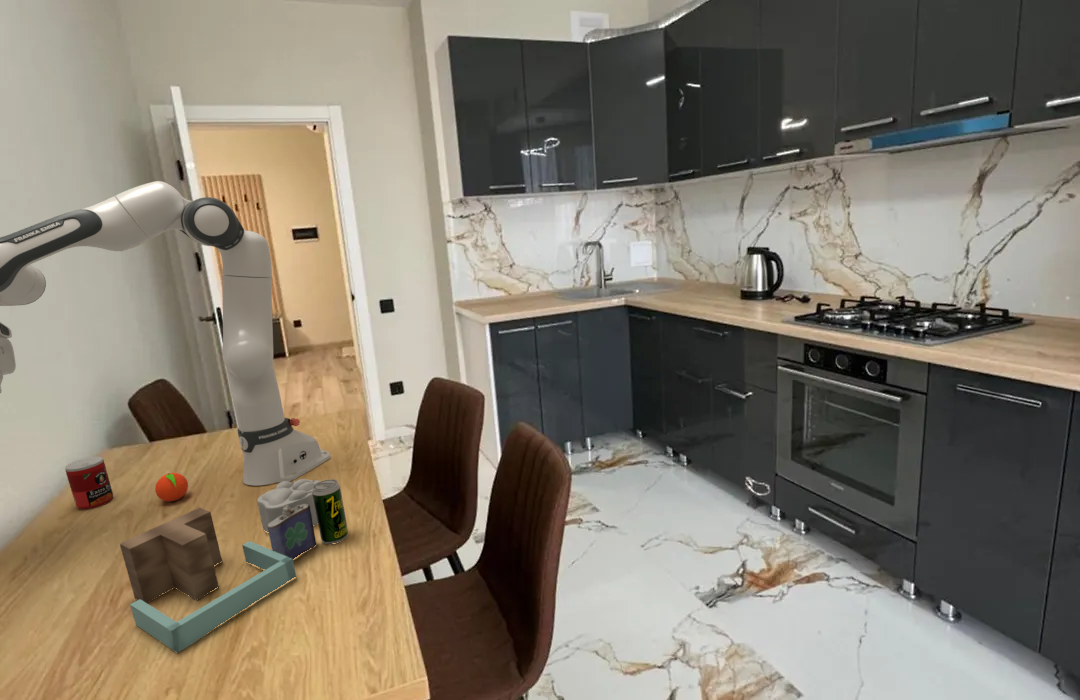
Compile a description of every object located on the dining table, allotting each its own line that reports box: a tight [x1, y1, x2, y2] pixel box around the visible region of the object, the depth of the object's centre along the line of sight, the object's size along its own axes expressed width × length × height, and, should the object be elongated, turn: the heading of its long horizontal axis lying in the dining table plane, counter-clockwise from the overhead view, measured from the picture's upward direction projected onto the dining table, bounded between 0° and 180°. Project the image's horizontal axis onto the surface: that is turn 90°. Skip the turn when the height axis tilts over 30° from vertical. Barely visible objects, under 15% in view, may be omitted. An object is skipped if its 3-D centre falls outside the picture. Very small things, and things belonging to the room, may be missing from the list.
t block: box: [119, 507, 223, 604], centre depth 106 cm, size 14×12×11 cm
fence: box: [129, 540, 297, 653], centre depth 102 cm, size 21×14×4 cm, turn 147°
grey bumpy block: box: [256, 478, 321, 533], centre depth 127 cm, size 10×13×9 cm
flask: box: [267, 504, 317, 559], centre depth 113 cm, size 9×3×11 cm, turn 151°
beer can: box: [312, 478, 349, 545], centre depth 118 cm, size 5×5×12 cm
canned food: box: [64, 456, 114, 510], centre depth 146 cm, size 8×8×11 cm
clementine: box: [154, 472, 189, 503], centre depth 143 cm, size 8×7×7 cm
